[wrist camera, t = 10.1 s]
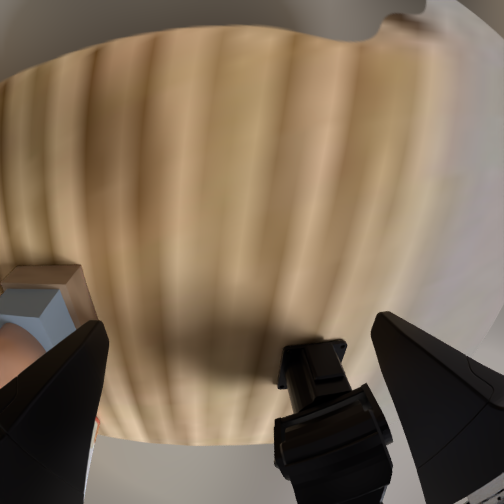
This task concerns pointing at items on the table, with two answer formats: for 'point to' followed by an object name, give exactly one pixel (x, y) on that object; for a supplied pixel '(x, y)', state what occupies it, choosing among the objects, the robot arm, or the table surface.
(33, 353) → the terracotta cylinder
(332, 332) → the table surface
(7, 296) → the tower middle
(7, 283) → the tower base
